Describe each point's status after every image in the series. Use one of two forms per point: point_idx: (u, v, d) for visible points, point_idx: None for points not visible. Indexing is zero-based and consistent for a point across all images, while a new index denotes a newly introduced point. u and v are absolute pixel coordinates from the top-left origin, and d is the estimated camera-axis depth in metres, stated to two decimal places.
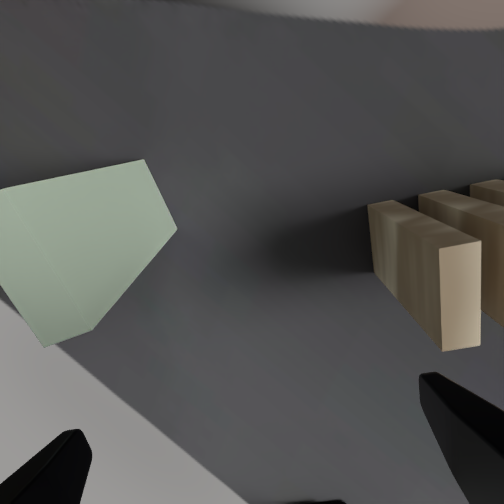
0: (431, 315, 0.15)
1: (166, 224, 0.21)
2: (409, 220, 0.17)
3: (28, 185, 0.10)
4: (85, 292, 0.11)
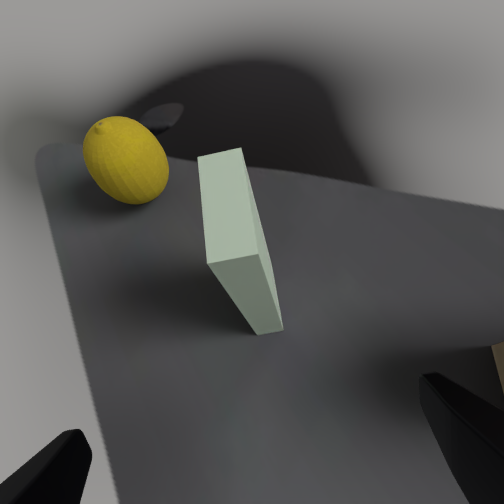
0: None
1: (279, 313, 0.21)
2: None
3: (245, 165, 0.15)
4: (256, 236, 0.13)
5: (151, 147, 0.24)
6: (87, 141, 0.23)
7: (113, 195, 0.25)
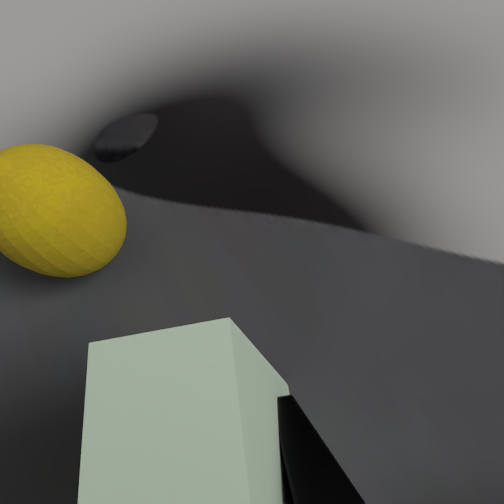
0: None
1: None
2: None
3: (244, 338, 0.05)
4: None
5: (87, 195, 0.14)
6: None
7: (31, 269, 0.15)
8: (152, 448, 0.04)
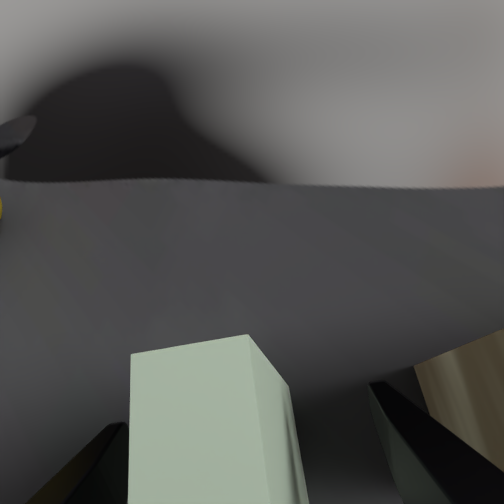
0: None
1: (306, 497, 0.13)
2: None
3: (257, 349, 0.06)
4: None
5: None
6: None
7: None
8: (187, 441, 0.04)
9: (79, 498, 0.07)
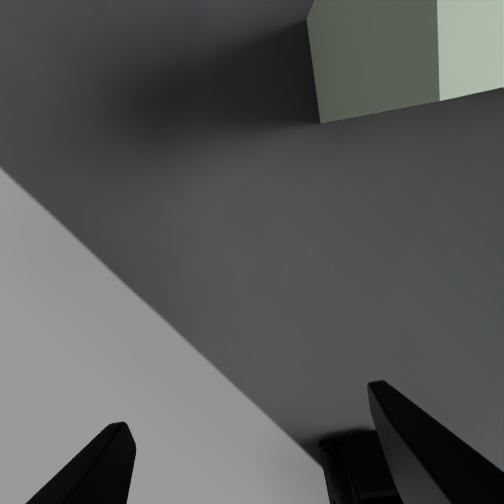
0: None
1: None
2: None
3: None
4: None
5: None
6: None
7: None
8: None
9: (80, 498, 0.07)
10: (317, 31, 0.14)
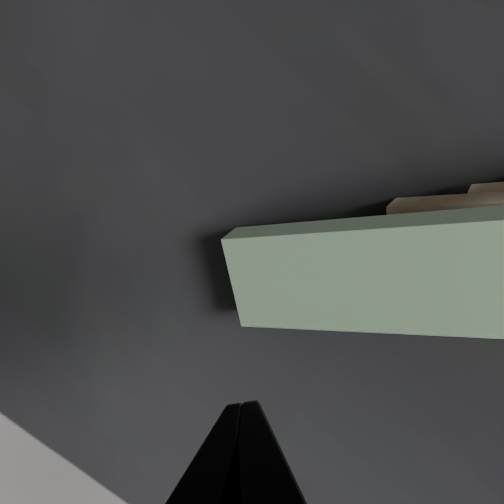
0: None
1: None
2: None
3: None
4: None
5: None
6: None
7: None
8: None
9: (231, 477, 0.07)
10: (268, 259, 0.15)
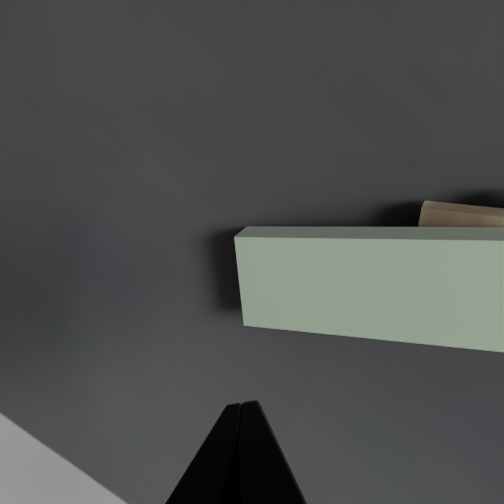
0: None
1: None
2: None
3: None
4: None
5: None
6: None
7: None
8: None
9: (231, 476, 0.07)
10: (281, 260, 0.16)
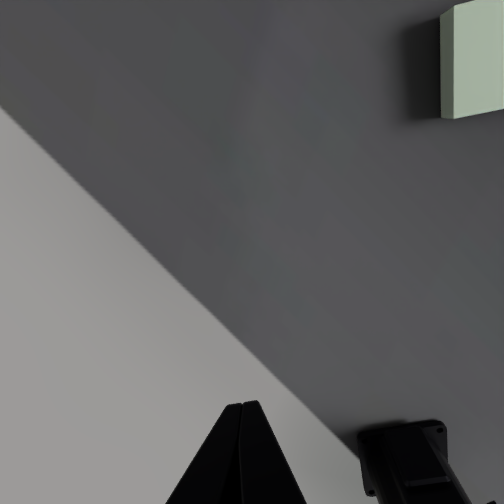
0: None
1: None
2: None
3: None
4: None
5: None
6: None
7: None
8: None
9: (231, 476, 0.07)
10: None
